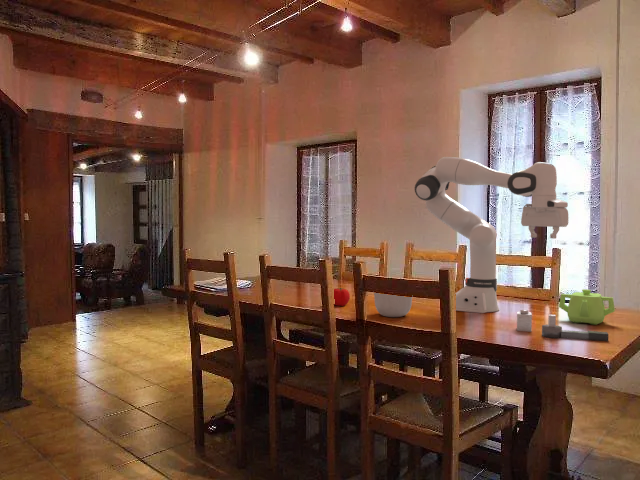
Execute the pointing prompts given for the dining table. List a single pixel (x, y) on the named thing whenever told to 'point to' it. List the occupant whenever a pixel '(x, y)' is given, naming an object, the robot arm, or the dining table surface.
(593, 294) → the teapot
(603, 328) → the dining table surface
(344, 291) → the tomato
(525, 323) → the cube with grey knob
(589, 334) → the ratchet
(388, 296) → the white rounded bowl
